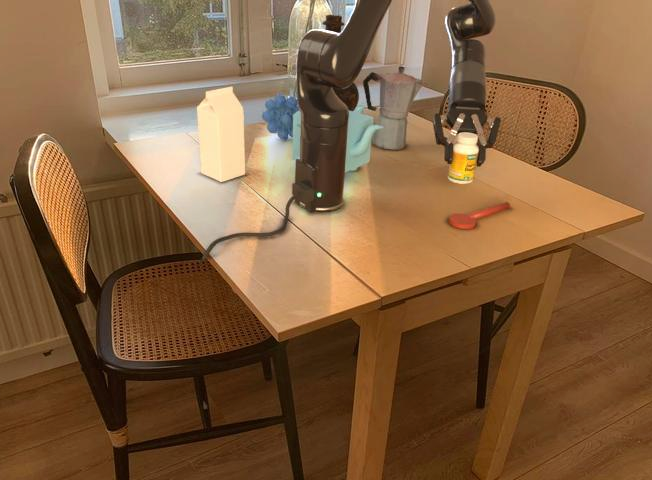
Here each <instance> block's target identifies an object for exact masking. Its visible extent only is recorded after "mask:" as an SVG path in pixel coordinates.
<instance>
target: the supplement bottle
mask: <svg viewBox="0 0 652 480" xmlns="http://www.w3.org/2000/svg"><path fill="white" fill-rule="evenodd" d="M477 140H478V135H476V134H474V133H469V132H462V133H459V134H458V135H457V138H456V141H457V142H456V143H454V144H453V161H452V163H451V165H450V164H449V166H448V173H447V178H448V180H449V181H450V182H451V183H455V184H460V185H466V184H467V185H468V184H470V183H472V182H473V181H474V178H475V171H476V168H477V158H478V153H479V148H478V146H477V145H476V143H477Z"/></svg>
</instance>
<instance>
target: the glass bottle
mask: <svg viewBox="0 0 652 480" xmlns="http://www.w3.org/2000/svg"><path fill="white" fill-rule="evenodd" d="M342 18H343V16H342V15H339V14H338V15H334V14H326V15H325V20H323V21H322V25H324V26H325V29H324V30H326V31H331V32H336V33H341V32H342V27H344V26H345V23H344V22H342V21H343V20H342ZM333 90H334V92H335V94H336V96H337V97H338V98H339V99H340V100H341V101H342V102H343V103H344V104H345V105H346V106H347V107H348V109H349V111H354V110H355V108H356V107H357V106H358V105H359V101H360V93H359V92H360V91H359V89H358V86H357V84H356V83H355V81H354V82H353V83H352V84H351V85H350V86H349V87H347V88H345V89H336V88H333Z"/></svg>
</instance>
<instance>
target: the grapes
mask: <svg viewBox="0 0 652 480" xmlns="http://www.w3.org/2000/svg"><path fill="white" fill-rule="evenodd" d="M264 107H265V108H266V110H264V111H263V112H262V114H261V118H262V119H263V121H264V122H266V123H267V125H266V128H267V131H268V132H269V133H271V134H276V135H277V137H278V138H279V139H280V140H287V139H288V138H289V137H290V138H292V139H293V114H295V113H296V112H297V111H300V109H299V107H298V102H297V98H296V97H295V96H291V95H290V96H288V97H286V96H285V95H284V94H283V93H277V94H275V95H274V99H271V98H268V99H267V100H265V103H264Z"/></svg>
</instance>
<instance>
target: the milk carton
mask: <svg viewBox="0 0 652 480" xmlns="http://www.w3.org/2000/svg"><path fill="white" fill-rule="evenodd" d="M244 114H245V113H244V107H243V106H242V104H241V102H240V101H239V99H238V98H237V96H236V94H235V93H234V89H233V86H227V87H222V88H217V89H213V90H207V91H205V97H204V99H203V100H201V102H200V103H199V104H198V105H197V107H196V115H197V117H196V118H197V129H198V142H199V143H198V144H199V158H200V171H201V174H202V175H203V176H207V177H209V178H211V179H213V180H216V181H218V182H220V183H223V182H226V181H227V182H228V181H230V180H232V179H236V178H238V177H241V176H244V175H246V153H245V152H246V151H245V149H246V148H245V116H244Z"/></svg>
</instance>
